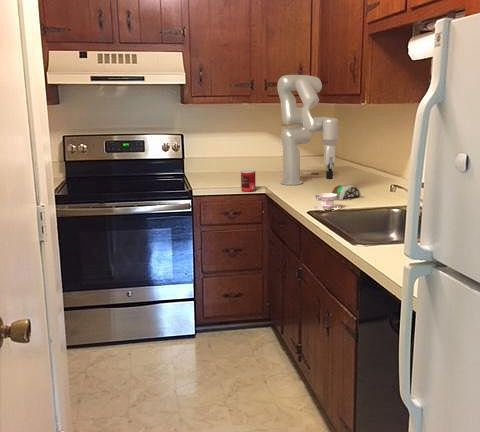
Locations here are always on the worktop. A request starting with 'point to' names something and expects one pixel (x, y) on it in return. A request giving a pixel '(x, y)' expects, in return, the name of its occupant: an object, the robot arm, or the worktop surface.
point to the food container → (346, 192)
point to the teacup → (327, 201)
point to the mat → (335, 198)
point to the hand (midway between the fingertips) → (329, 178)
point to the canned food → (248, 181)
